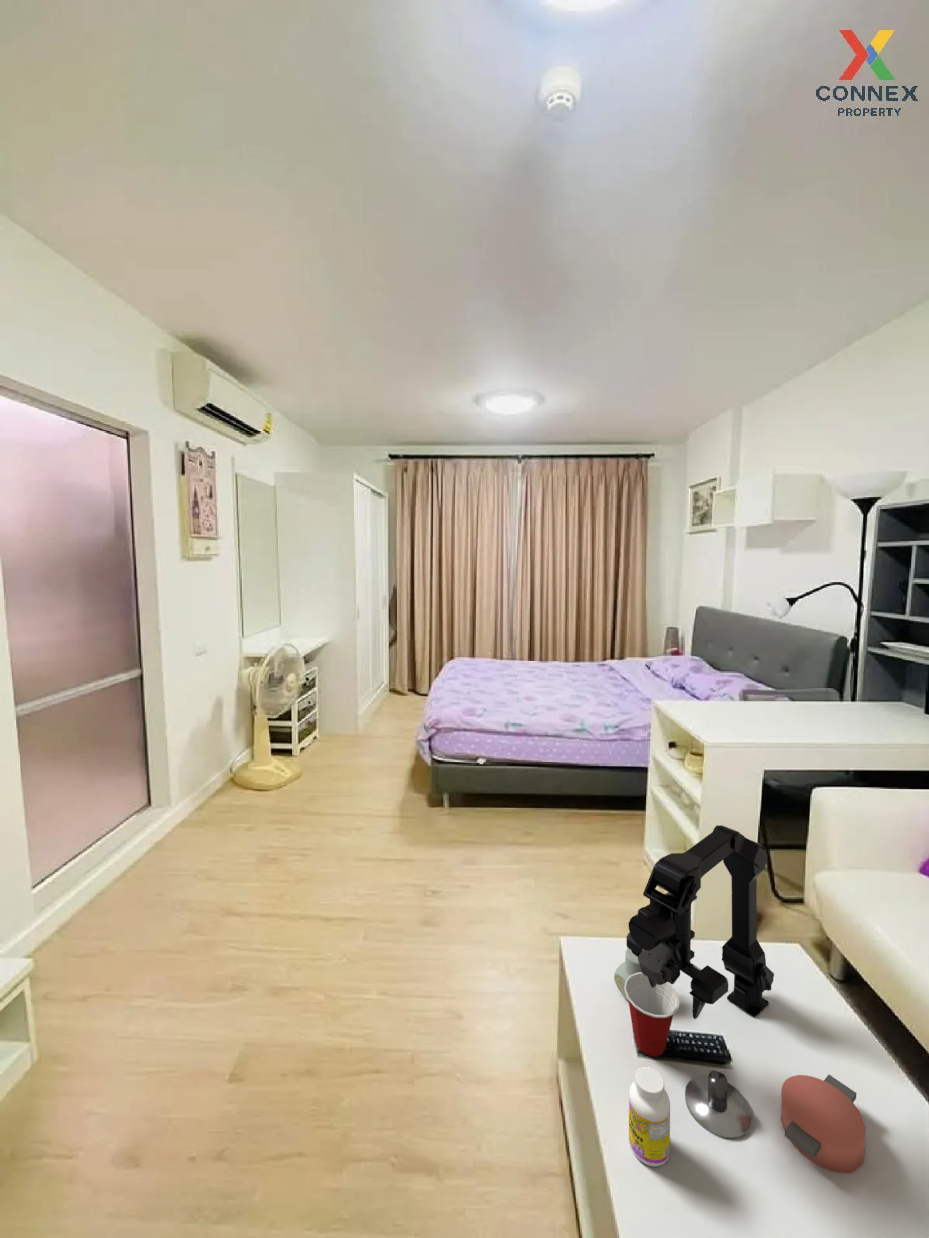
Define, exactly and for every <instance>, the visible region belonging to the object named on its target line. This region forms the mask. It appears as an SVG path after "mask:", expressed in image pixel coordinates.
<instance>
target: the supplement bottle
mask: <svg viewBox="0 0 929 1238" xmlns="http://www.w3.org/2000/svg"><path fill="white" fill-rule="evenodd" d="M663 1078H664V1077H663V1076H662V1075H661V1074H660V1072H659V1071H657V1070H656V1069H655V1068H653V1067H648V1066H643V1067H639V1068H638V1069H637V1070H636V1072H635V1074H634V1081H633V1082H632V1084H631V1085H630V1087H629V1091H628V1141H629V1143H628V1144H629V1147H630V1149H631V1151H632V1153H633V1154H634V1156H635V1157H636V1158H637V1159H638V1160H639V1161H640V1162H642V1163H643V1164H645V1165H646V1166H649V1167H653V1168H654V1167H659V1166H662V1165H664V1164H665V1163H666V1162H667V1161H668V1159H669V1157H670V1152H671V1100H670V1096H669V1095H668V1092H667V1090H666V1089H665V1081H664V1079H663Z"/></svg>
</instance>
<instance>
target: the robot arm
mask: <svg viewBox="0 0 929 1238" xmlns="http://www.w3.org/2000/svg"><path fill="white" fill-rule="evenodd" d="M768 857H769V856H768V853H767V849H766V847H765V846H764V845H763V844H761V843H759V842H756V841H754V840H752V839H749V838H747V837H745V835H743V834H742V833H740V831H737V830H735V829H732V828H730V827H727V826H725V825H722V824H720V825H719V824H718V825H715V826H714V828H713V829H712V831H711V833H710V834H708V835H706V836H705V837H703V838H702V839H701V840H699V841H698V842H697V843H695V844H694V845H692V846H691V847H690V848H688V849H687V850H686V851H685V852H681V853H680V852H678V853H677V852H676V853H675V852H674V853H673V852H671V853H670V854H667V855H665V856H663V857H661V858H659V860H658V861H656V862H655V864H654V866H653V868H652V870H651V872H650V875H649V878H648V879H647V883H646V885H645V888H644V890H643V893H642V895H643V897H645V898H647V899H649V904H647V905H645V906H642V907H641V908H639V909H638V910H637V913H636V914H635V915H634V916H631V917H630V919H629V921H628V923H627V925H628V926H627V927H628V930H629V932H628V933H627V936H626V937H625V939H626V942H625V945H626V947H627V948H626V949H628V948H629V949H630V950H632V953H633V954H634V955H636V956H637V957H638V961H639V965H640V968H641V972H642V973H643V974H644V975H645V976H647V977H648V979H649V982H650V985H651V987H652V988H654V987H655V986H656V984H658V985H663V984H664V983H666V982H669V984H670V985H674V984H675V982H676V981H677V980H678V979H679V978H680V976H681V972H682V973H684V974H685V975H687V976H688V977H690V978H691V981H690V989H691V990H690V991H689V994H690V995H691V997H692V1011H691V1012H692V1018H693V1019H694V1020H696V1019H697V1018H699V1016H700V1014H701V1013H702V1011H703V1008H704V1007H705V1005H706V1004H708V1005H713V1004H715V1003H716V1002H717V1001H719V999H721V998H722V997H724V995H725V994H727V993H728V992H729V980H728V978H727V977H726V976H725V975H724V974H722V973H721V972H719V971H718V970H716V969H714V968H712V967H711V966H709V965H706V966H704V967H703V968H700V967H698V966H697V965H695V964H693V963H692V962H691V960H692V959H694V958H695V951H694V950H692V947H691V945H692V943H691V941H692V939H694V938H695V937H696V933H695V931H694V930H692V903H693V902H695V901H696V900H697V899H698V896H697V893H698V892H699V891H700V890H701V888H702V878H703V877H704V876H705V875H706V874H708V873H709V872H710V871H711V870H712V869H714V867H716V866H717V865H718V864H720V863H721V862H722V863H723V864H724V866H725V869H726V870H727V871H728V873H729V875H730V876H731V937H730V938H729V939H728V940H727V941H726V942H725V943H724V944H723V946H722V947H721V949H722V950H721V951H722V953H721V961H722V962H723V965H724V970H725V971H727V972H729V973H731V974H732V975H734V976H733V991H731V993H729V994H728V995H727V996H726V1000H727V1001H729V1002H730V1003H732V1004H733V1005H735V1006H736V1007H737V1008H739V1009H741V1011H744V1012H745V1013H747V1014H748V1015H750V1016H751V1017H753V1018H757V1017H758V1016H759V1015H760V1014H761V1013H762V1012H763V1011H764V1010H765V1009H766V1008H768V1006H769V1005H770V1001H769V1000H767V999H765V997H763V993H764V992H765V991H768V992H770V991H771V990H772V985H773V982H774V976H775V973H774V972H773V971H772V970H771V969H770V968H769V967H768V966H767V963H766V961H767V960H766V953H765V952H764V949H763V948H762V946H761V944H760V942H759V941H758V938H757V935H758V932H757V926H758V925H757V917H758V916H757V905H758V904H757V902H758V901H757V900H758V899H757V893H758V892H757V888H758V887H757V883H758V882H757V881H758V880H757V879H758V877H760V876H761V874H762V873H763V872H764V871H765V869H766V865H767V863H768ZM657 887H659V888H660V889H662V890H664V891H666V893H663V892H661V891H660V890H658V889H656V888H657Z"/></svg>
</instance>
